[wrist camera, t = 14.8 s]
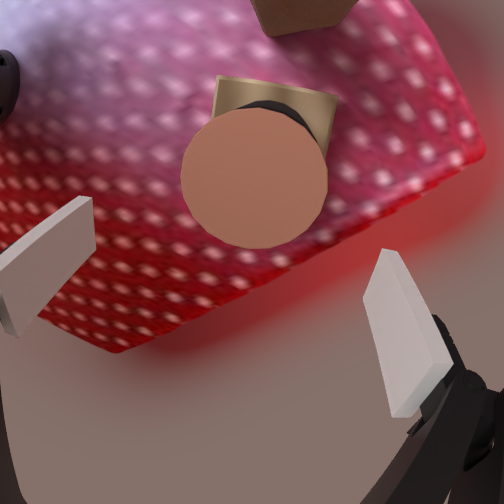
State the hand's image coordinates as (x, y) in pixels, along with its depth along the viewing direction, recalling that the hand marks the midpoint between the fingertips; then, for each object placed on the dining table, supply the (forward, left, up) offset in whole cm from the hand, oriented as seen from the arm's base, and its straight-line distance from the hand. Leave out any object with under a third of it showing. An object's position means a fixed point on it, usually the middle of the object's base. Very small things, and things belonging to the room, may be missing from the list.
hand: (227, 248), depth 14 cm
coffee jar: (0, 0, -28) cm, 28 cm away
